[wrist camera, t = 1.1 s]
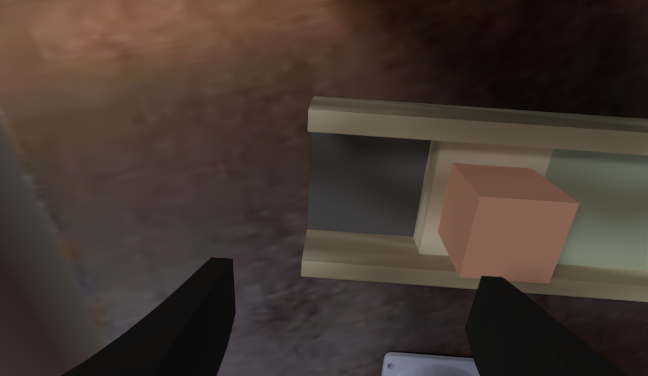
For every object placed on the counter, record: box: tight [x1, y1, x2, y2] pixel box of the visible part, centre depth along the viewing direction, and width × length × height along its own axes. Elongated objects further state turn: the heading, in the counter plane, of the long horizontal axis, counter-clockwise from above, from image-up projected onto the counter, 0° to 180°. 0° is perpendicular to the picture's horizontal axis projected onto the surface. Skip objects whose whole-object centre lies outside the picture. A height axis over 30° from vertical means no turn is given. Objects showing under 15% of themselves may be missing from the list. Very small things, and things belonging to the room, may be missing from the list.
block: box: [438, 163, 580, 284], centre depth 17 cm, size 4×4×4 cm
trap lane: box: [301, 96, 648, 302], centre depth 19 cm, size 9×26×4 cm, turn 86°
